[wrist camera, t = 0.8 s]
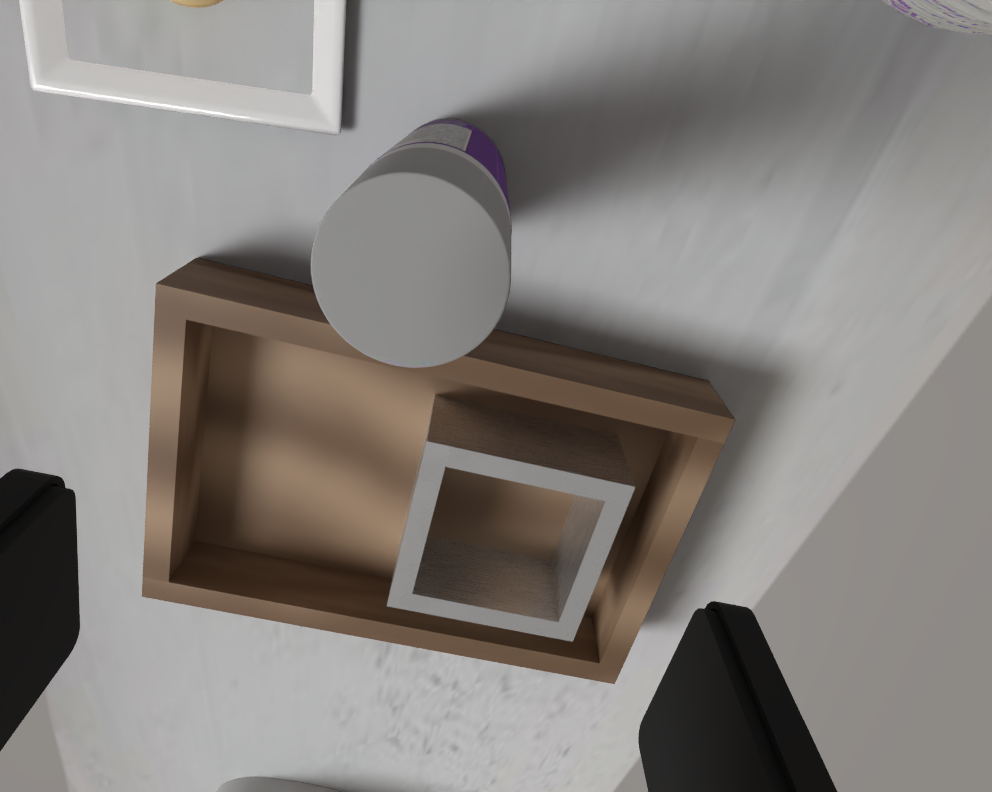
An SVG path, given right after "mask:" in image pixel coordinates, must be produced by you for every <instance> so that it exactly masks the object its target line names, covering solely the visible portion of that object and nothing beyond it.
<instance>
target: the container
mask: <svg viewBox="0 0 992 792" xmlns="http://www.w3.org/2000/svg"><path fill="white" fill-rule="evenodd" d="M511 233H512V225H511V214H510V207H509V199H508V191H507V184H506V176H505V169H504V165H503V161H502V158H501V156H500V153H499V151H498V149H497V148H496V146H495V144H494V143H493V142H492V140H491V139H490V138H489V137H488V136H487V135H486V134H485V133H484V132H483V131H481V130H480V129H478V128H477V127H475V126H473V125H471V124H469V123H467V122H464V121H460V120H455V119H440V120H435V121H432V122H429V123H427V124H424V125H422V126H420V127H419V128H417V129H416V130H414V131H413V132H412V133H410V134H409V135H408V136H407V137H405V138H404V139H403V140H401V141H400V142H399V143H397V144H396V145H395V146H394V147H392V148H391V149H390V150H388V151H387V152H386V153H384V154H383V155H382V156H381V157H379V158H378V159H377V160H376V161H374V162H373V163H372V164H371V165H370V166H369V167H368V168H367V169H366V170H365V172H364V173H363V174H362V175H361V176H360V177H359V178H358V179H357V180H356V181H355V182H354V183H353V184H352V185H351V186H350V187H349V188H348V189H347V190H346V191H345V192H344V193H343V194H342V195H341V196H340V197H339V198H338V199H337V200H336V201H335V203H334V204H333V205H332V206H331V207H330V209H329V210H328V211H327V213H326V214H325V216H324V218H323V219H322V221H321V223H320V225H319V227H318V230H317V232H316V235H315V238H314V242H313V246H312V252H311V276H312V283H313V287H314V291H315V295H316V298H317V300H318V303H319V305H320V307H321V309H322V311H323V313H324V315H325V316H326V318H327V320H328V321H329V323H330V324H331V325H332V327H333V328H334V329H335V330H336V331H337V333H338V334H339V335H340V336H341V337H342V338H343V339H344V340H345V341H347V342H348V343H349V344H350V345H352V346H353V347H354V348H356V349H357V350H359V351H360V352H362V353H363V354H365V355H367V356H369V357H371V358H373V359H376V360H378V361H381V362H384V363H387V364H390V365H395V366H400V367H409V368H421V367H431V366H437V365H441V364H445V363H448V362H451V361H453V360H456V359H458V358H460V357H462V356H464V355H466V354H467V353H469V352H470V351H472V350H473V349H475V348H476V347H477V346H478V345H479V344H481V343H482V342H483V341H484V340H485V339H486V338H487V337H488V335H489V334H490V333H491V332H492V331H493V329H494V328H495V326H496V325H497V323H498V322H499V320H500V318H501V316H502V314H503V312H504V309H505V307H506V304H507V300H508V297H509V292H510V285H511Z"/></svg>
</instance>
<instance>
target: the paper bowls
mask: <svg viewBox="0 0 992 792" xmlns="http://www.w3.org/2000/svg"><path fill="white" fill-rule="evenodd" d="M882 1H883V2H884V3H886V4H887V5H889V6H891V7H892V8H894V9H895V10H896V11H897V12H899V13H901V14H903V15H905V16H908V17H909V18H911V19H913V20H916V21H918V22H919V23H924V24H925V25H926V26H929V25H931V26H932V27H933V28H937V29H944V30H948V31H955V32H962V33H968V34H981V35H992V0H882Z"/></svg>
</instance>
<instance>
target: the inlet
mask: <svg viewBox="0 0 992 792" xmlns="http://www.w3.org/2000/svg"><path fill="white" fill-rule="evenodd" d="M445 467H449V468H453V469H458V470H463V471H467V472H472V473H477V474H481V475H486V476H490V477H495V478H500V479H504V480H509V481H514V482H518V483H523V484H527V485H532V486H537V487H541V488H546V489H551V490H555V491H560V492H565V493H569V494H574V495H575V496H574V499H573V502H572V505H571V507H570V510H569V513H568V516H567V518H566V521H565V524H564V527H563V529H562V532H561V535H560V538H559V540H558V543H557V546H556V549H555V551H554V554H553V557H552V560H547V559H542V558H537V557H532V556H527V555H522V554H517V553H512V552H508V551H503V550H498V549H493V548H488V547H483V546H478V545H473V544H468V543H463V542H459V541H454V540H449V539H444V538H439V537H434V536H429V535H428V531H429V527H430V524H431V520H432V516H433V512H434V508H435V505H436V501H437V497H438V493H439V489H440V485H441V482H442V478H443V474H444V470H445ZM634 489H635V484H634V481H633V478H632V475H631V472H630V470H629V467H628V464H627V461H626V458H625V455H624V452H623V449H622V446H621V443H620V440H619V437H618V436H617V435H613V434H608V433H604V432H600V431H595V430H591V429H586V428H582V427H578V426H573V425H569V424H564V423H560V422H556V421H551V420H547V419H542V418H538V417H534V416H529V415H525V414H520V413H516V412H512V411H507V410H503V409H499V408H494V407H490V406H485V405H481V404H477V403H472V402H468V401H463V400H459V399H455V398H450V397H446V396H441V395H437V394H435V397H434V401H433V405H432V409H431V413H430V417H429V422H428V426H427V430H426V434H425V438H424V442H423V446H422V451H421V455H420V459H419V463H418V467H417V471H416V475H415V480H414V484H413V488H412V492H411V496H410V500H409V504H408V509H407V513H406V517H405V521H404V525H403V529H402V533H401V538H400V542H399V546H398V551H397V556H396V561H395V566H394V571H393V576H392V581H391V587H390V592H389V597H388V602H387V606H388V607H394V608H399V609H404V610H409V611H415V612H420V613H425V614H430V615H435V616H441V617H446V618H451V619H456V620H462V621H467V622H472V623H477V624H483V625H488V626H493V627H498V628H503V629H509V630H514V631H519V632H524V633H530V634H535V635H540V636H545V637H551V638H556V639H561V640H566V641H571V642H573V640H574V637H575V635H576V632H577V630H578V627H579V625H580V623H581V620H582V618H583V615H584V613H585V610H586V608H587V605H588V603H589V600H590V598H591V595H592V593H593V590H594V588H595V586H596V583H597V581H598V578H599V576H600V573H601V571H602V568H603V566H604V563H605V561H606V558H607V556H608V554H609V551H610V549H611V546H612V544H613V541H614V539H615V536H616V534H617V531H618V529H619V526H620V524H621V521H622V519H623V517H624V514H625V512H626V509H627V507H628V504H629V502H630V499H631V497H632V494H633V492H634Z"/></svg>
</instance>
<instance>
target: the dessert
mask: <svg viewBox="0 0 992 792" xmlns="http://www.w3.org/2000/svg"><path fill="white" fill-rule="evenodd" d="M170 1H172V2H174V3H176V4H179V5H182V6H187V7H194V8H200V7H208V6H212V5H215V4H217V3H219V2H221V1H223V0H170ZM19 4H20V11H21V18H22V26H23V33H24V40H25V47H26V55H27V62H28V69H29V76H30V84H31V87H32V89H34V90H35V91H40V92H47V93H54V94H60V95H67V96H74V97H81V98H87V99H94V100H101V101H108V102H114V103H121V104H128V105H135V106H142V107H148V108H155V109H162V110H169V111H175V112H182V113H189V114H196V115H202V116H209V117H216V118H223V119H230V120H236V121H243V122H250V123H257V124H263V125H270V126H277V127H284V128H290V129H297V130H304V131H311V132H318V133H324V134H331V135H339V134H340V133H341V119H342V95H343V70H344V46H345V21H346V0H314V43H313V89H312V92H311V94H309V95H305V94H298V93H291V92H285V91H278V90H271V89H264V88H258V87H251V86H244V85H237V84H230V83H224V82H217V81H210V80H203V79H196V78H190V77H183V76H176V75H169V74H163V73H156V72H149V71H142V70H135V69H129V68H122V67H115V66H108V65H101V64H95V63H88V62H81V61H74V60H72V59H70V58H69V56H68V52H67V43H66V34H65V25H64V17H63V8H62V0H19Z"/></svg>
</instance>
